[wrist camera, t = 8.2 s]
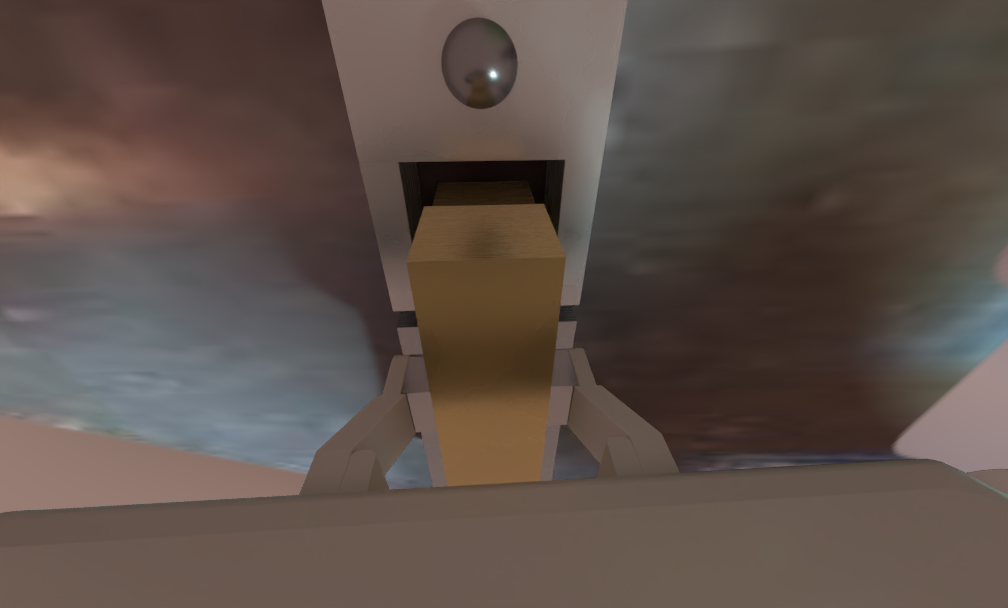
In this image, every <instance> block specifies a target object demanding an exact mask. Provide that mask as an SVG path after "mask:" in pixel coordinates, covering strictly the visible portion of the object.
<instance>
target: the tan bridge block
mask: <svg viewBox="0 0 1008 608" xmlns="http://www.w3.org/2000/svg"><path fill="white" fill-rule="evenodd" d="M565 262H566V256H565V253H564V251H563V249H562V246H561V244H560V241H559V239H558V237H557V234H556V232H555V229H554V227H553V225H552V222H551V220H550V217H549V215H548V213H547V210H546V208H545V205H544V204H536V203H535V200H534V198H533V195H532V192H531V189H530V187H529V184H528V181H497V182H443V183H438V186H437V190H436V194H435V197H434V201H433V205H432V206H424V209H423V212H422V215H421V218H420V221H419V224H418V227H417V230H416V233H415V237H414V240H413V243H412V246H411V249H410V252H409V255H408V258H407V261H406V263H407V269H408V274H409V280H410V285H411V291H412V296H413V301H414V307H415V312H416V318H417V323H418V329H419V334H420V340H421V345H422V351H423V356H424V362H425V367H426V373H427V378H428V383H429V389H430V394H431V400H432V405H433V411H434V416H435V422H436V427H437V433H438V438H439V444H440V449H441V454H442V460H443V465H444V471H445V476H446V482H447V486H462V485H480V484H497V483H514V482H531V481H540V478H541V469H542V461H543V452H544V444H545V435H546V426H547V418H548V409H549V400H550V392H551V383H552V375H553V366H554V357H555V349H556V340H557V331H558V323H559V314H560V306H561V297H562V288H563V280H564V271H565Z"/></svg>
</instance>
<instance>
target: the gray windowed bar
mask: <svg viewBox="0 0 1008 608" xmlns="http://www.w3.org/2000/svg"><path fill="white" fill-rule="evenodd" d="M627 1H628V0H322V4H323V9H324V13H325V17H326V22H327V26H328V30H329V35H330V39H331V43H332V48H333V52H334V57H335V61H336V65H337V70H338V74H339V78H340V83H341V87H342V91H343V96H344V100H345V104H346V109H347V113H348V118H349V122H350V126H351V131H352V135H353V139H354V144H355V148H356V152H357V157H358V161H359V165H360V170H361V174H362V178H363V183H364V187H365V192H366V196H367V200H368V205H369V209H370V213H371V218H372V222H373V226H374V231H375V235H376V239H377V244H378V248H379V253H380V257H381V261H382V266H383V270H384V274H385V279H386V283H387V287H388V292H389V296H390V300H391V305H392V309H393V311H401V315H400V318H399V322H398V325H397V331H398V335H399V340H400V344H401V348H402V353H403V355H411V354H423V351H422V345H421V340H420V334H419V329H418V323H417V318H416V312H415V307H414V301H413V296H412V291H411V285H410V280H409V274H408V269H407V263H406V261H407V258H408V255H409V252H410V249H411V246H412V243H413V240H414V237H415V233H416V230H417V227H418V224H419V221H420V218H421V215H422V212H423V205H422V198H421V190H420V183H419V176H418V169H417V162H440V161H510V160H547V169H546V184H545V198H544V205H545V208H546V210H547V213H548V215H549V217H550V220H551V222H552V225H553V227H554V229H555V232H556V234H557V237H558V239H559V241H560V244H561V246H562V249H563V251H564V253H565V256H566V262H565V271H564V280H563V288H562V297H561V306H560V314H559V323H558V331H557V340H556V349H565V348H566V349H567V348H573V343H574V337H575V330H576V324H577V320H576V317H575V314H574V312H573V309H572V306H571V305H580V299H581V292H582V286H583V280H584V273H585V267H586V261H587V254H588V248H589V242H590V235H591V229H592V223H593V216H594V210H595V204H596V197H597V191H598V185H599V178H600V172H601V166H602V159H603V153H604V147H605V140H606V134H607V128H608V121H609V115H610V109H611V102H612V96H613V90H614V83H615V77H616V71H617V64H618V58H619V52H620V45H621V39H622V33H623V26H624V20H625V14H626V7H627ZM559 432H560V425H547V426H546V435H545V444H544V452H543V461H542V469H541V478H540V481H548V480H552V476H553V470H554V463H555V457H556V451H557V444H558V438H559ZM421 435H422V440H423V444H424V448H425V453H426V457H427V462H428V466H429V470H430V475H431V479H432V483H433V487H445V486H447V482H446V476H445V471H444V465H443V460H442V454H441V449H440V444H439V438H438V433H437V431H427V432H421Z"/></svg>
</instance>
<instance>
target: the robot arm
mask: <svg viewBox="0 0 1008 608" xmlns="http://www.w3.org/2000/svg"><path fill="white" fill-rule="evenodd" d="M547 425H567V426H568V427H569V428H570V430H571V431H572V432H573V433H574V434H575V435H576V437H577V438H578V439H579V440H580V441H581V442H582V444H583V445H584V446H585V447H586V448H587V449H588V450H589V452H590V453H591V454H592V455H593V456H594V457H595V459H596V460H597V461H598V462H599V463H600V466H599V470H598V473H597V476H596V478H582V479H565V480H548V481H531V482H514V483H497V484H480V485H462V486H445V487H428V488H410V489H393V490H389V487H388V485H387V482H386V479H385V477H384V476H385V474H386V473H387V472H388V470H389V469H390V468H391V466H392V465H393V464H394V462H395V461H396V460H397V458H398V457H399V456H400V454H401V453H402V452H403V450H404V449H405V447H406V446H407V445H408V443H409V442H410V441H411V439H412V438H413V437H414V435H415V432H427V431H437V427H436V422H435V416H434V411H433V405H432V400H431V394H430V389H429V383H428V378H427V373H426V367H425V362H424V356H423V354H411V355H394V357H393V358H392V361H391V365H390V368H389V372H388V376H387V379H386V383H385V387H384V390H383V394H382V395H377V396H376V397H375V398H374V399H373V400H372V401H371V402H370V403H369V404H368V405H366V406H365V407H364V408H363V409H362V410H361V411H360V412H359V413H358V414H357V415H356V416H354V417H353V418H352V419H351V420H350V421H349V422H348V423H347V424H346V425H345V426H344V427H343V428H341V429H340V430H339V431H338V432H337V433H336V434H335V435H334V436H333V437H332V438H331V439H330V440H328V441H327V442H326V443H325V444H324V445H323V446H322V447H321V448H320V449H319V450H318V451H317V452H316V454H315V457H314V459H313V462H312V464H311V467H310V469H309V472H308V474H307V477H306V479H305V482H304V484H303V487H302V489H301V492H300V494H299V495H291V496H274V497H256V498H238V499H221V500H205V501H186V502H169V503H152V504H136V505H117V506H100V507H83V508H66V509H49V510H24V511H12V512H4V513H0V608H1008V469H992V470H981V471H975V472H969V473H965V472H962V471H960V470H958V469H956V468H954V467H951V466H949V465H947V464H945V463H943V462H939V461H936V460H930V459H906V460H889V461H873V462H856V463H839V464H822V465H805V466H788V467H770V468H753V469H736V470H719V471H702V472H684V473H680V472H679V470H678V468H677V465H676V463H675V461H674V459H673V457H672V455H671V453H670V450H669V448H668V446H667V444H666V442H665V440H664V438H663V436H662V434H661V433H660V432H659V431H658V430H656V429H655V428H654V427H653V426H651V425H650V424H649V423H648V422H646V421H645V420H644V419H643V418H641V417H640V416H639V415H638V414H636V413H635V412H634V411H633V410H632V409H630V408H629V407H628V406H627V405H625V404H624V403H623V402H622V401H620V400H619V399H618V398H617V397H615V396H614V395H613V394H612V393H610V392H609V391H608V390H607V389H605V388H604V387H603V386H602V385H596V382H595V379H594V376H593V373H592V371H591V368H590V365H589V362H588V359H587V356H586V354H585V351H584V349H583V348H567V349H566V348H565V349H555V357H554V366H553V375H552V383H551V392H550V400H549V409H548V418H547Z"/></svg>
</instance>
